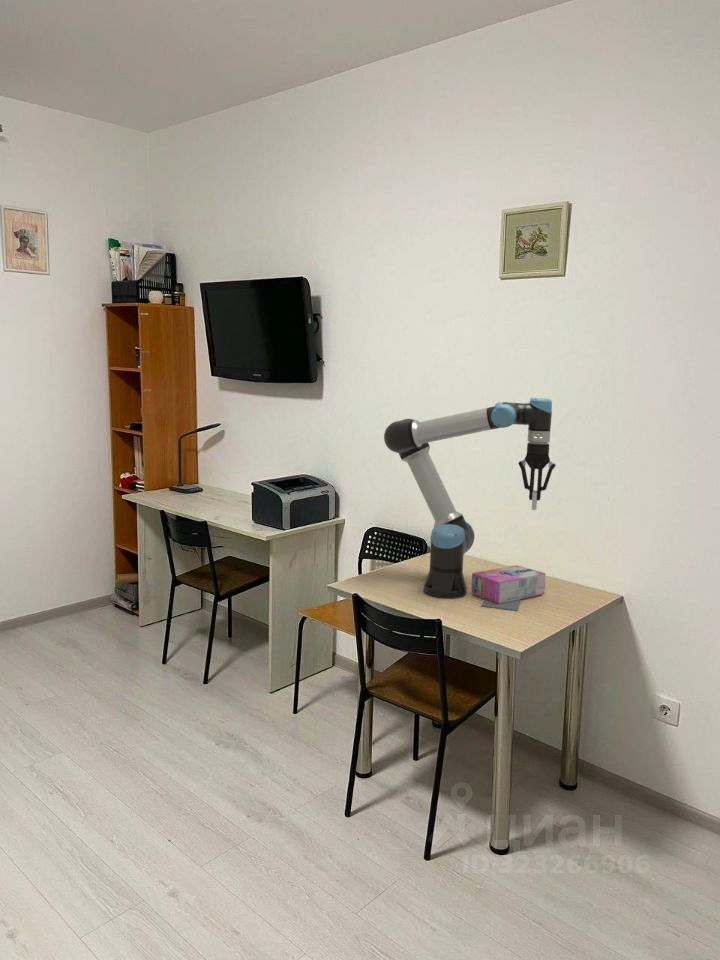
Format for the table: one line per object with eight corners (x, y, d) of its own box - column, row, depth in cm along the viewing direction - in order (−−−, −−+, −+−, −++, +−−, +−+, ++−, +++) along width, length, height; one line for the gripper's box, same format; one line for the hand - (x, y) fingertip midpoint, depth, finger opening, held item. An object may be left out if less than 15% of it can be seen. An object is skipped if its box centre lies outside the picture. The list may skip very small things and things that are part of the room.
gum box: (547, 593, 265) (519, 584, 276) (548, 572, 263) (520, 563, 275) (498, 604, 251) (471, 594, 263) (499, 581, 250) (472, 572, 261)
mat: (480, 606, 250) (481, 605, 250) (489, 589, 269) (489, 588, 269) (517, 611, 246) (517, 610, 246) (523, 593, 265) (523, 592, 265)
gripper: (518, 442, 258) (514, 509, 261) (557, 444, 254) (552, 512, 257) (520, 440, 265) (516, 505, 268) (558, 442, 261) (553, 508, 264)
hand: (534, 509), depth 263 cm, fingers closed
